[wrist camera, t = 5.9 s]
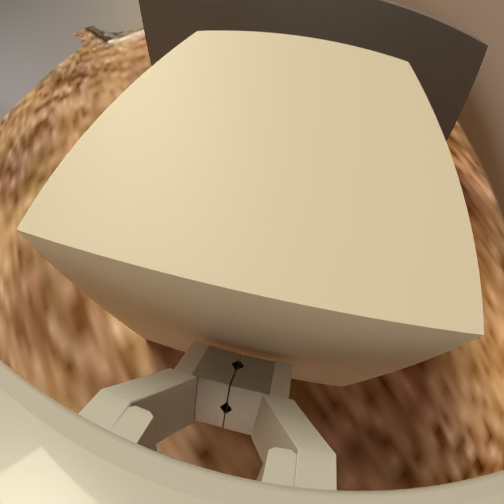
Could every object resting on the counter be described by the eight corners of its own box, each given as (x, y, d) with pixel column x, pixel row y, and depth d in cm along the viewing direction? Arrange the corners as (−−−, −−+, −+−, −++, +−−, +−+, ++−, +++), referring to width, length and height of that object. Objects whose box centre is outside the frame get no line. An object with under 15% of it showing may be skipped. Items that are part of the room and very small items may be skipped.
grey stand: (434, 164, 20) (488, 45, 10) (162, 115, 23) (137, -7, 13) (416, 110, 25) (447, 16, 14) (199, 72, 28) (188, -24, 17)
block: (341, 386, 13) (484, 334, 4) (145, 339, 14) (16, 230, 5) (360, 196, 18) (408, 61, 10) (214, 168, 20) (197, 31, 11)
